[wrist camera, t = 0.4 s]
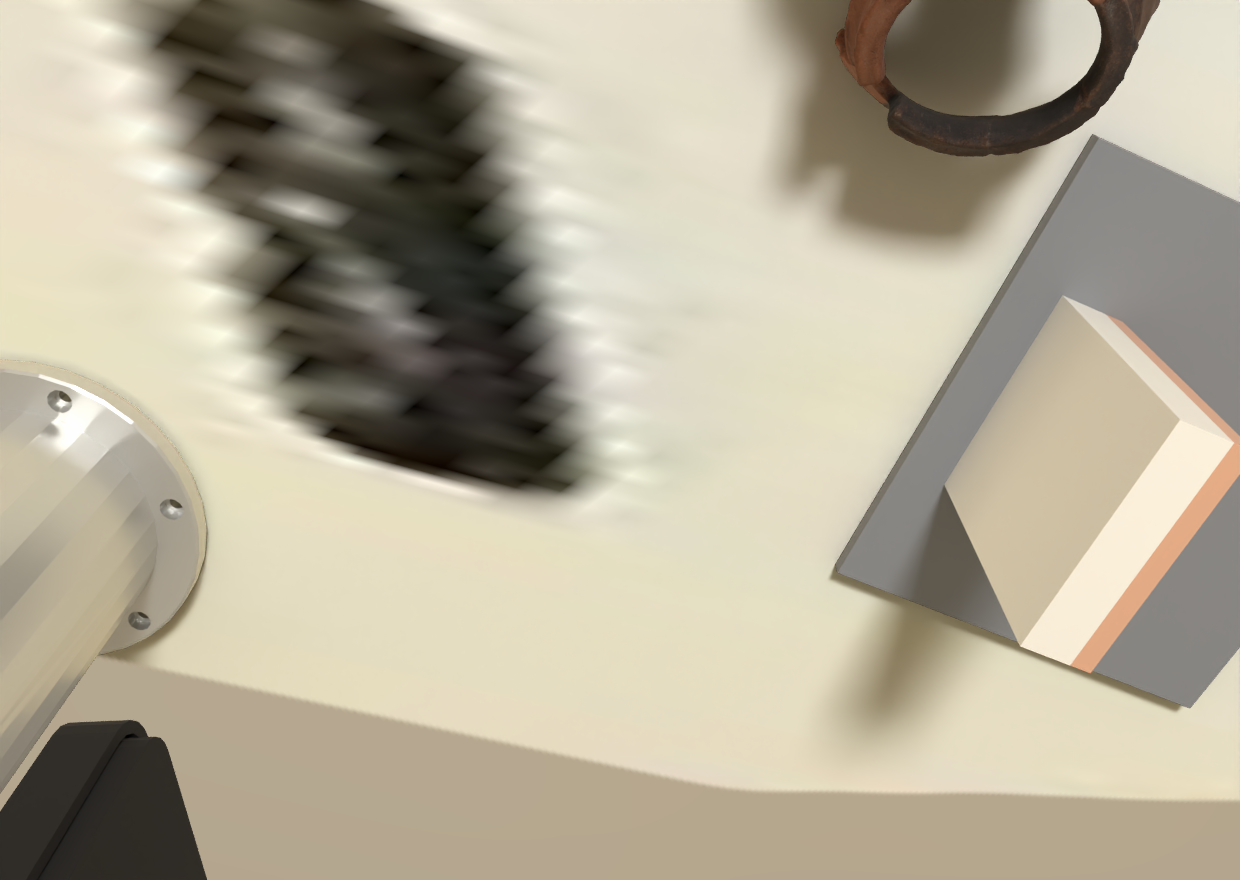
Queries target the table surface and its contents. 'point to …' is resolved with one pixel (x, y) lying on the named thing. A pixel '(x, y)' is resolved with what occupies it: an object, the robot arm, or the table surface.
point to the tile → (1088, 483)
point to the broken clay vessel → (861, 44)
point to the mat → (1047, 269)
